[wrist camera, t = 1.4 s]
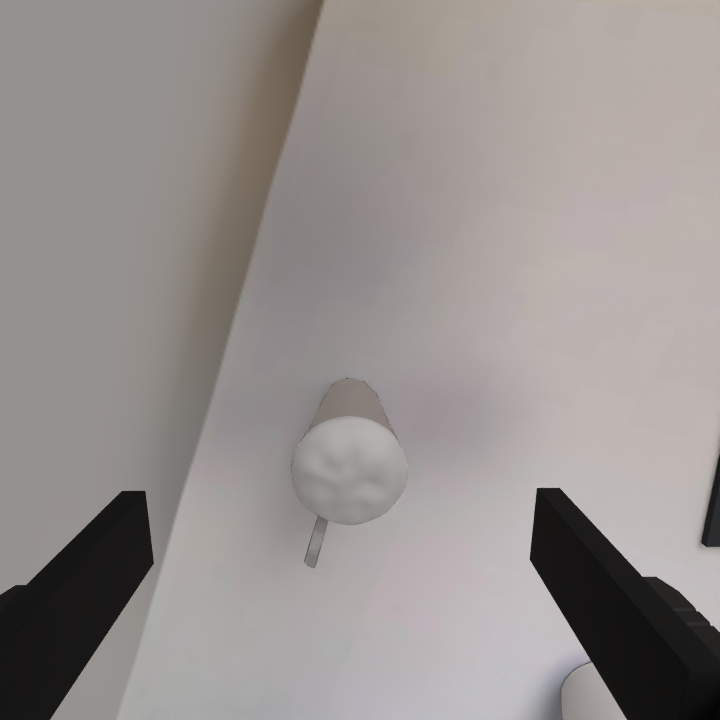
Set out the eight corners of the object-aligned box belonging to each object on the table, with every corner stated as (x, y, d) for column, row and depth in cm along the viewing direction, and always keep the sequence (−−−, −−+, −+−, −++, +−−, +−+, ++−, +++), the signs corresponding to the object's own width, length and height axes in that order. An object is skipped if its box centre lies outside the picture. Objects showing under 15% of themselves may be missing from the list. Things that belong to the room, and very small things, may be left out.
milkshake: (291, 430, 25) (251, 540, 15) (334, 352, 24) (321, 415, 14) (359, 465, 25) (363, 591, 16) (404, 389, 24) (438, 475, 15)
